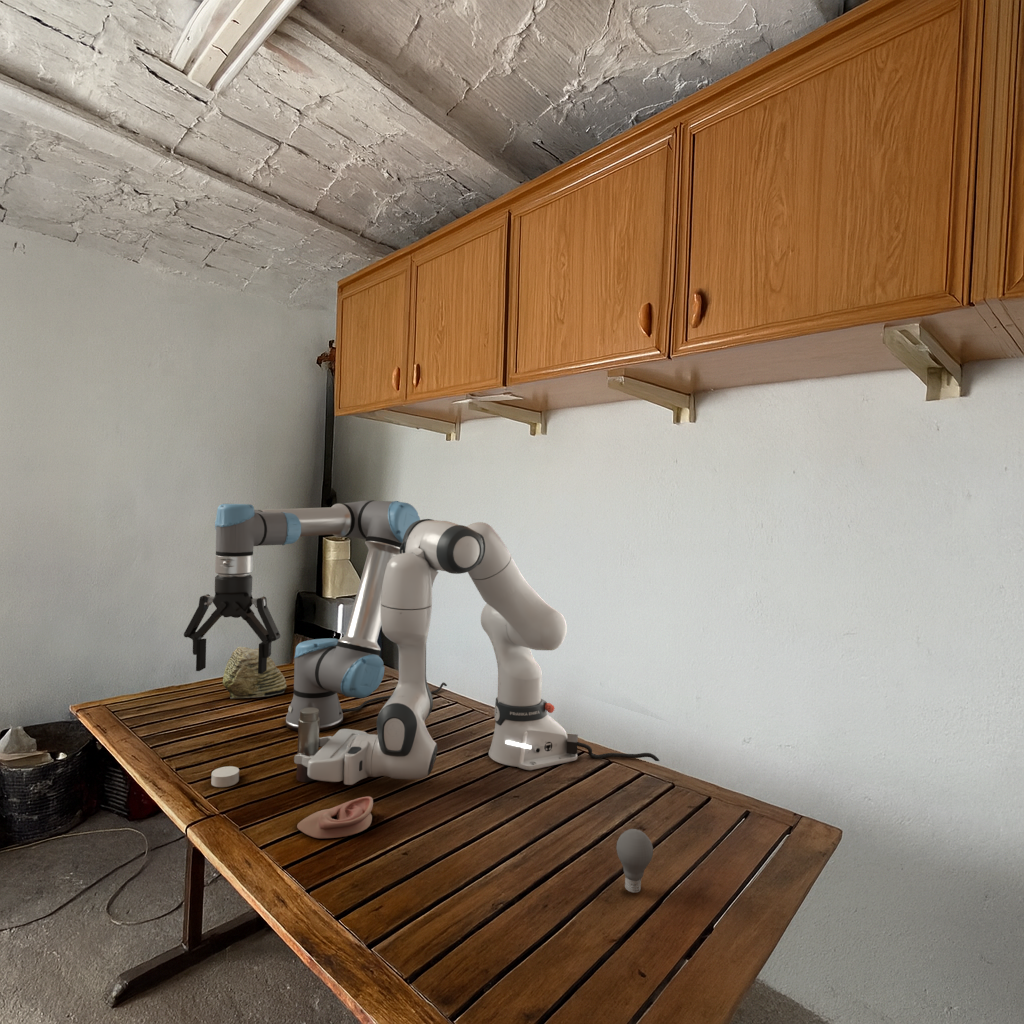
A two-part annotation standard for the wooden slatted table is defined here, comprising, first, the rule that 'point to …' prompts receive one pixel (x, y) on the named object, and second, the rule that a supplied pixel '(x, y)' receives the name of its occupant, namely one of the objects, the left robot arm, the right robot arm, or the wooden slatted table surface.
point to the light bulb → (634, 857)
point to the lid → (225, 776)
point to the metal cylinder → (307, 739)
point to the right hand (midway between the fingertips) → (304, 749)
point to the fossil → (251, 676)
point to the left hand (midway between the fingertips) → (231, 670)
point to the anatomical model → (339, 819)
